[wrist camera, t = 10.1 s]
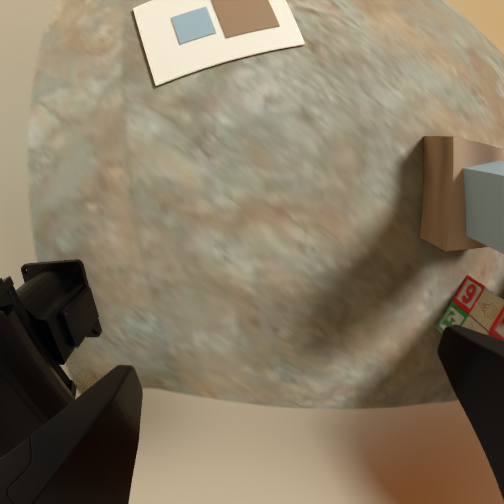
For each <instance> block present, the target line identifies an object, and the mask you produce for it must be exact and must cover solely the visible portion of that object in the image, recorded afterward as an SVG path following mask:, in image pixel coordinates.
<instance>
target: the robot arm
mask: <svg viewBox="0 0 504 504" xmlns="http://www.w3.org/2000/svg"><path fill="white" fill-rule="evenodd" d="M76 265H77V266H78V267H79V269H77V268H76ZM26 269H27V271H26ZM21 272H22V275H23V279H24V282H25V283H24V284H23V285H22V286H21V287H19V288H18V289H17V290H15V288H14V287H13V284H14V283H13V281H12V279H11V277H10V276H9V277H7V278H5V279H3V280H2V278H0V504H128V502H129V496H130V489H131V483H132V476H133V470H134V465H135V459H136V454H137V449H138V442H139V430H140V418H141V417H140V416H141V406H142V394H143V393H142V387H141V384H140V382H139V379H138V376H137V373H136V371H135V369H134V367H133V366H131V365H118V366H116V367H115V368H114V369H112V370H111V371H110V372H109V373H108V374H106V375H105V376H104V377H103V378H101V379H100V380H99V381H98V382H96V383H95V384H94V385H93V386H91V387H90V388H89V389H88V390H86V391H85V392H84V393H83V394H82V395H80V396H79V397H78V398H77V399H75V395H76V388H77V386H76V385H75V384H74V382H73V381H72V380H70V379H69V378H68V376H67V375H66V374H65V372H64V371H63V369H62V368H61V366H60V365H64V364H65V362H66V361H67V359H68V358H69V356H70V354H71V353H72V351H73V350H74V348H75V347H79V346H80V344H81V343H82V341H83V339H84V338H85V337H99V336H100V334H101V333H102V329H101V326H100V322H99V319H98V317H99V316H98V312H97V309H96V306H95V302H94V299H93V295H92V292H91V289H90V287H89V285H88V281H87V277H86V273H85V269H84V265H83V263H82V262H81V261H80V260H64V261H52V262H40V263H29V264H24V265H23V266H22V267H21ZM94 329H95V330H97V332H96V331H95V330H94ZM437 352H438V356H439V358H440V361H441V363H442V365H443V367H444V369H445V371H446V374H447V376H448V378H449V381H450V383H451V385H452V387H453V390H454V392H455V394H456V396H457V398H458V399H459V401H460V403H461V405H462V407H463V409H464V411H465V413H466V415H467V417H468V418H469V421H470V422H471V424H472V427H473V429H474V430H475V433H476V435H477V437H478V439H479V441H480V443H481V446H482V447H483V450H484V452H485V454H486V456H487V459H488V461H489V464H490V466H491V468H492V471H493V473H494V476H495V478H496V481H497V483H498V487H499V489H500V492H501V495H502V498H503V501H504V341H503V340H500V339H497V338H494V337H491V336H488V335H486V334H483V333H480V332H477V331H474V330H471V329H468V328H466V327H463V326H460V325H457V324H454V325H450V326H447V327H445V329H444V330H443V333H442V336H441V339H440V342H439V345H438V349H437Z"/></svg>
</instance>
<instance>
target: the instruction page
mask: <svg viewBox="0 0 504 504" xmlns="http://www.w3.org/2000/svg"><path fill="white" fill-rule="evenodd" d="M133 11H134V14H135V18H136V21H137V25H138V28H139V32H140V35H141V39H142V42H143V46H144V49H145V52H146V56H147V59H148V62H149V65H150V69H151V72H152V75H153V78H154V82H155V85H156V86H159V85H161V84H164V83H166V82H169V81H171V80H174V79H177V78H179V77H182V76H185V75H188V74H191V73H193V72H196V71H199V70H202V69H205V68H209V67H212V66H215V65H218V64H222V63H225V62H229V61H232V60H236V59H240V58H243V57H247V56H251V55H256V54H260V53H264V52H269V51H274V50H279V49H284V48H289V47H295V46H301V45H305V43H304V40H303V38H302V36H301V33H300V31H299V28H298V26H297V24H296V22H295V19H294V17H293V15H292V13H291V11H290V8H289V6H288V4H287V2H286V0H152V1H150V2H147V3H145V4H142V5H140V6H137V7H135V8H133Z"/></svg>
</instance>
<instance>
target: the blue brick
mask: <svg viewBox="0 0 504 504" xmlns="http://www.w3.org/2000/svg"><path fill="white" fill-rule="evenodd" d="M463 174H464V186H465V201H466V236H467V237H470V238H472V239H474V240H476V241H478V242H480V243H482V244H484V245H487V246H489V247H491V248H493V249H495V250H497V251H499V252H501V253H503V254H504V161H496V162H491V163H486V164H481V165H476V166H470V167H465V168H463Z"/></svg>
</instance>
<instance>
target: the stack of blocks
mask: <svg viewBox="0 0 504 504" xmlns="http://www.w3.org/2000/svg"><path fill="white" fill-rule="evenodd" d="M454 324H457V325H460V326H463V327H466V328H468V329H471V330H474V331H477V332H480V333H483V334H486V335H488V336H491V337H494V338H497V339H500V340H503V341H504V299H502V298H500V297H499V296H497V295H496V294H495V293H493V292H492V291H491V290H489V289H488V288H487V287H486V286H484V285H483V284H481V283H480V282H478V281H476V280H475V279H473V278H472V277H470V276H469V275H467V276H466V278H465V280H464V282H463V283H462V285H461V287H460V288H459V290H458V292H457V293H456V295H455V297H454V298H453V300H452V302H451V304H450V305H449V307H448V308H447V310H446V311H445V313H444V314H443V316H442V317H441V319H440V320H439V322H438V323H437V324H436V326H435V327H436V328H437V329H438V330H439V331H440V333H441V334H442V333H443V330H444V329H445V327H447V326H450V325H454Z"/></svg>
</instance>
